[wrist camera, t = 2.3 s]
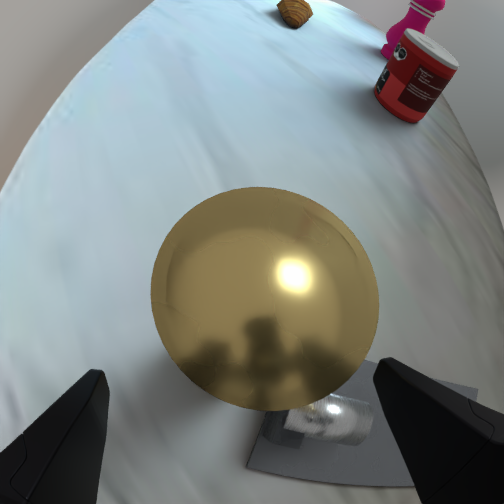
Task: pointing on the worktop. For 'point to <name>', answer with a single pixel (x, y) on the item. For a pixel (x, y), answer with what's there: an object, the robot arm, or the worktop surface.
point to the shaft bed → (343, 457)
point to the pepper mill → (412, 22)
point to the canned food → (414, 76)
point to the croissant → (295, 12)
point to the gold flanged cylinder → (264, 299)
